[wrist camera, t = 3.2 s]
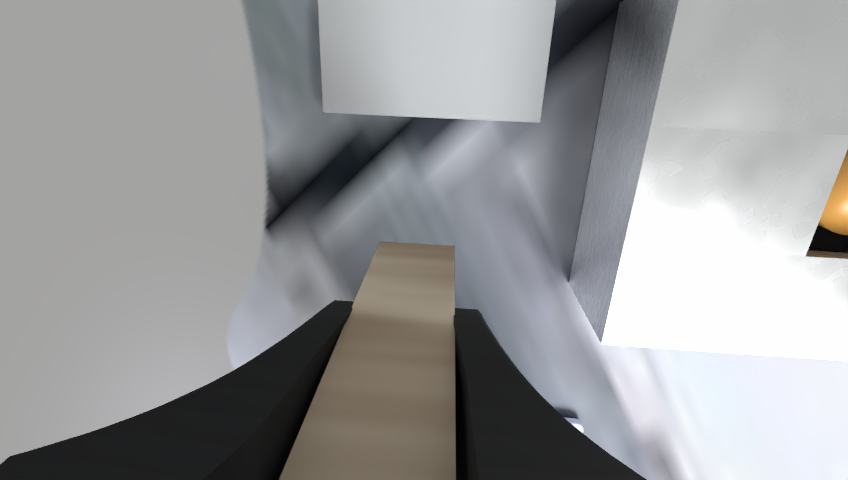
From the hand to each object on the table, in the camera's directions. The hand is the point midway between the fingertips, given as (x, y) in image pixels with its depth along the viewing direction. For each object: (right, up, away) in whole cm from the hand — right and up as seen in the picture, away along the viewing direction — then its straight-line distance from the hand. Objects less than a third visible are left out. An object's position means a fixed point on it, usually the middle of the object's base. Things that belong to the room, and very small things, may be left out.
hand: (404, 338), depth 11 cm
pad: (+1, +12, +6) cm, 13 cm away
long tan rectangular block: (0, +1, +3) cm, 3 cm away
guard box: (+16, +6, +7) cm, 18 cm away
